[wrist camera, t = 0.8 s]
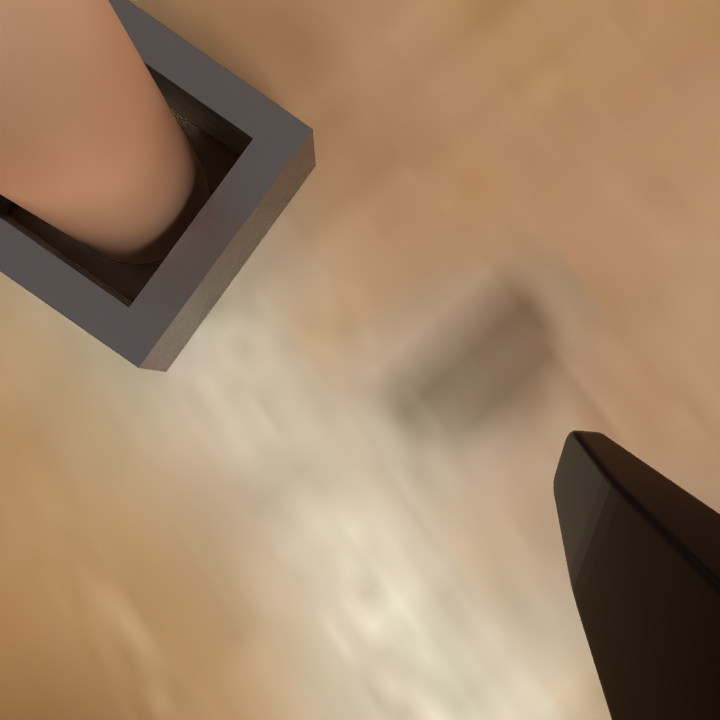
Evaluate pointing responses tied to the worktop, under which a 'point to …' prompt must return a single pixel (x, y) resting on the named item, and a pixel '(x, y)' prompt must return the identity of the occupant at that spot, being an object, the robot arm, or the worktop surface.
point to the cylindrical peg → (91, 132)
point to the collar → (206, 232)
